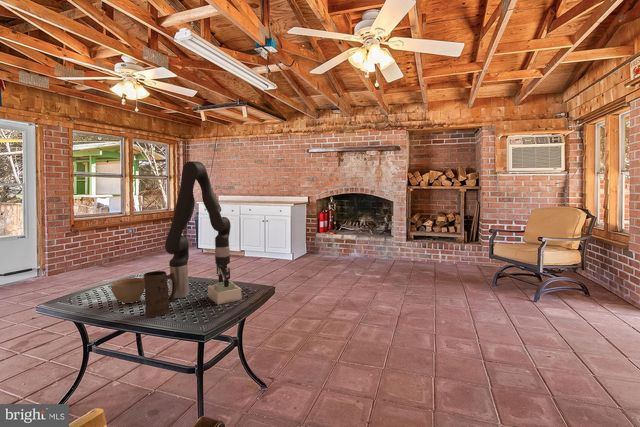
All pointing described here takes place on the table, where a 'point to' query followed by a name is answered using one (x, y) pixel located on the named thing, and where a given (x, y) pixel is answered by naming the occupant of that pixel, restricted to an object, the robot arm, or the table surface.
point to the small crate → (220, 287)
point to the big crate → (224, 295)
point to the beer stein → (158, 293)
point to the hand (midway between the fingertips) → (223, 284)
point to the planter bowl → (128, 289)
